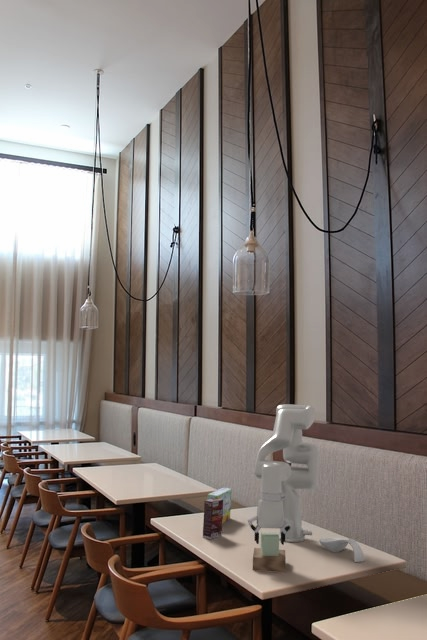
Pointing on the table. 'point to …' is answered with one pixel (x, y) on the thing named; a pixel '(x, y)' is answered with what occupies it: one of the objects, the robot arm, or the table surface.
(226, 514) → the snack box
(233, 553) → the table surface
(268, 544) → the sage block
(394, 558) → the table surface
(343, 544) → the spoon rest
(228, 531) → the table surface
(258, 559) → the walnut slab
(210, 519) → the supplement box
